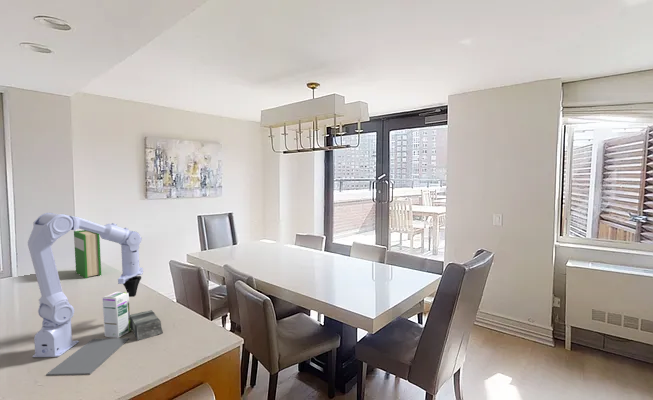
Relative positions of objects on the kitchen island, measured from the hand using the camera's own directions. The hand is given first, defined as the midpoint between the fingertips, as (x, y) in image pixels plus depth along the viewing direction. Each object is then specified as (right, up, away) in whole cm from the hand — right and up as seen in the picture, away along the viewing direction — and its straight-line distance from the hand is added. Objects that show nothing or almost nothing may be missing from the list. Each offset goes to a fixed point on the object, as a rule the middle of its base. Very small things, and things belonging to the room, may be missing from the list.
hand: (132, 296), depth 130 cm
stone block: (+10, -11, -7) cm, 16 cm away
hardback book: (-60, -5, +61) cm, 86 cm away
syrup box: (+1, -11, -11) cm, 15 cm away
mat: (+2, -11, -25) cm, 27 cm away
